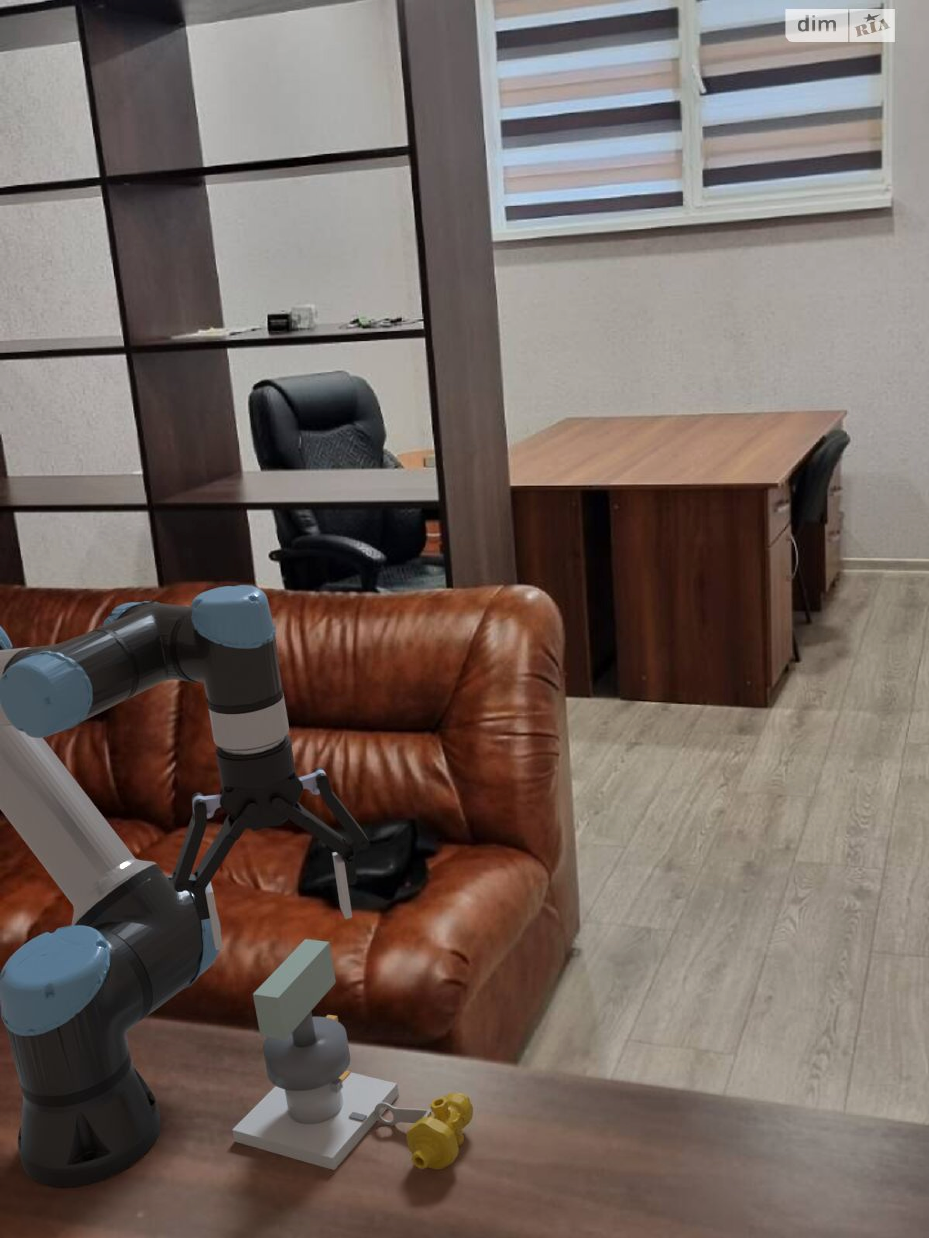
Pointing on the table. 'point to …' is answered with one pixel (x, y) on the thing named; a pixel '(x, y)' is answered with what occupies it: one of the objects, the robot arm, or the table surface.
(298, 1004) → the cap
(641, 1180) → the table surface
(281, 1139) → the base
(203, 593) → the robot arm
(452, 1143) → the pressure relief valve
